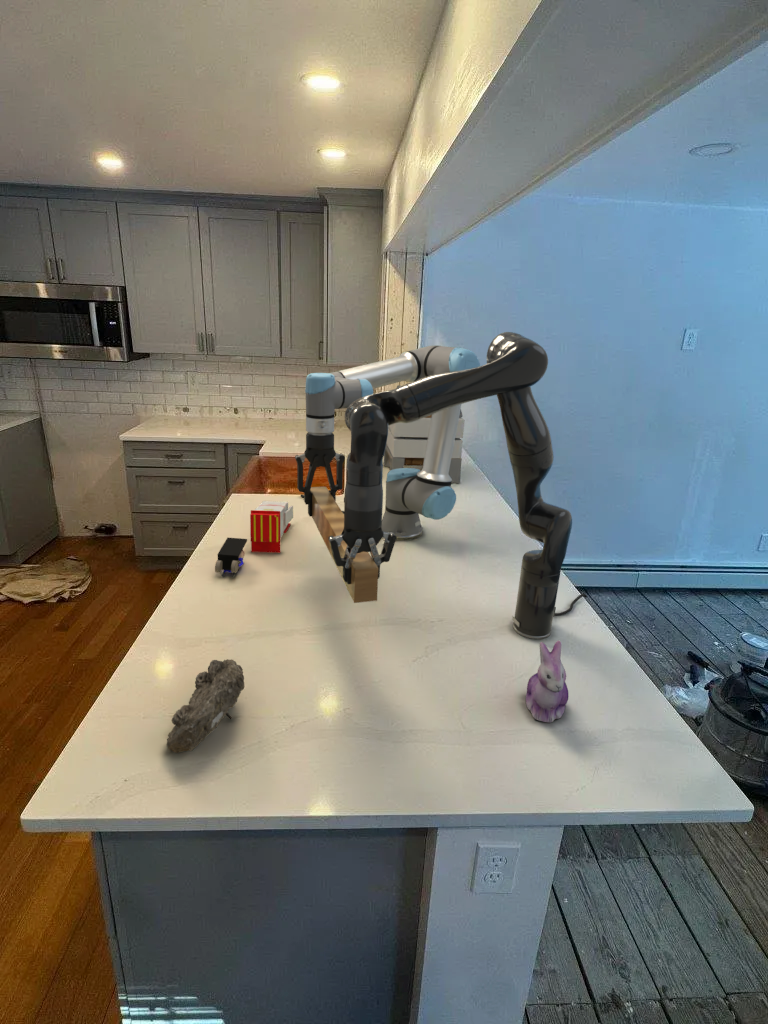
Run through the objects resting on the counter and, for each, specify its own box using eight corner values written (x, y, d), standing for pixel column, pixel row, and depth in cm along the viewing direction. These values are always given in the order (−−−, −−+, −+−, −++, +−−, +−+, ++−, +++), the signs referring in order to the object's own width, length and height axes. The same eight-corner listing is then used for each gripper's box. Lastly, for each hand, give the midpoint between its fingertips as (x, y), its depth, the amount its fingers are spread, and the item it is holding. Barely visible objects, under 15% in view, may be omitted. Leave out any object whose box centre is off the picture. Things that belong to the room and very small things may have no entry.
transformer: (382, 463, 289) (386, 382, 275) (445, 464, 293) (451, 384, 279) (390, 482, 257) (394, 392, 243) (460, 483, 261) (468, 394, 247)
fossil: (192, 660, 117) (244, 628, 112) (224, 691, 120) (276, 661, 115) (142, 746, 98) (202, 712, 93) (182, 779, 101) (242, 748, 96)
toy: (295, 495, 204) (283, 512, 175) (295, 531, 207) (283, 554, 178) (261, 494, 204) (243, 511, 175) (262, 530, 207) (244, 553, 177)
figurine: (546, 731, 108) (557, 664, 103) (511, 699, 116) (520, 636, 111) (582, 717, 112) (595, 652, 107) (546, 687, 121) (556, 626, 116)
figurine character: (238, 584, 162) (249, 557, 175) (236, 562, 158) (247, 536, 172) (215, 584, 161) (227, 556, 175) (212, 561, 158) (225, 535, 171)
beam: (309, 511, 163) (309, 487, 160) (325, 510, 164) (325, 486, 161) (354, 603, 113) (355, 569, 111) (377, 600, 115) (378, 567, 112)
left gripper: (288, 436, 146) (290, 521, 154) (356, 434, 151) (354, 516, 159) (284, 430, 152) (286, 511, 160) (349, 428, 158) (347, 507, 166)
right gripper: (331, 512, 106) (330, 593, 111) (404, 507, 110) (399, 586, 116) (323, 499, 112) (323, 576, 118) (392, 495, 116) (388, 570, 122)
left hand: (319, 513), depth 160 cm, fingers closed on beam, 5 cm apart
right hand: (361, 580), depth 117 cm, fingers closed on beam, 4 cm apart
